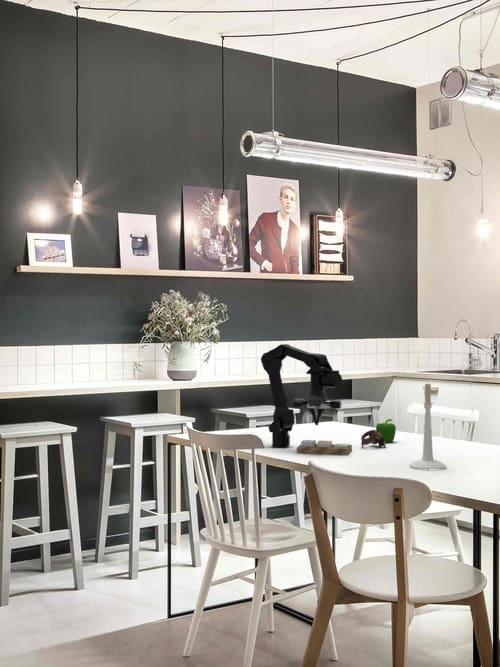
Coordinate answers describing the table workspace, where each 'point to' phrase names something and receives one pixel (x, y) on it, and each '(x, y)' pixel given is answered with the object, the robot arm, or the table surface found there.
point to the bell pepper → (386, 430)
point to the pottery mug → (372, 438)
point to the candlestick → (427, 439)
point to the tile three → (341, 446)
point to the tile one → (308, 443)
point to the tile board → (324, 450)
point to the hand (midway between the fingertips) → (316, 425)
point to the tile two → (324, 443)
